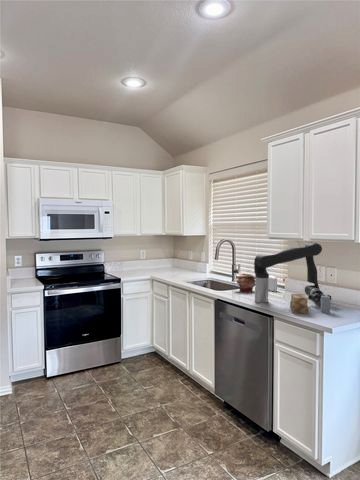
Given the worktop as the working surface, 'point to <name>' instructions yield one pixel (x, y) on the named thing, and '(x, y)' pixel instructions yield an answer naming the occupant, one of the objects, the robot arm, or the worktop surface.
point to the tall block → (325, 304)
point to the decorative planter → (246, 282)
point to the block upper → (299, 299)
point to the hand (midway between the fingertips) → (321, 299)
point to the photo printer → (272, 283)
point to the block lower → (298, 309)
